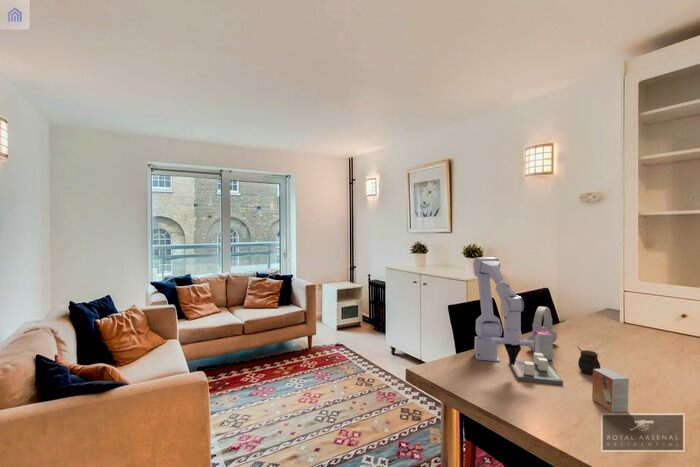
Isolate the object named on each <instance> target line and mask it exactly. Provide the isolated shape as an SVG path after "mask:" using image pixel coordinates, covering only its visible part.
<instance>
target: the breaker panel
mask: <svg viewBox="0 0 700 467" xmlns="http://www.w3.org/2000/svg"><path fill="white" fill-rule="evenodd" d="M524 361H526V360H517V359H516V361H515V365H511V364H510V361H509V360H508V364H509V366H510V368H511V369H512V370H511V371H512V372H513V374H514V376H515V377H516V378H515V379H516V380H517V381H518V382H526V383H528V382H529V383H538V384H548V385H557V386H558V385H560V386H563V385H564V380H563V379H562V378H561V377H560V376H559V374H558V373H557V372H556V371H555V369H554V368H553V367H552V365H551V364H550V363H549V362H548V371H540V370H539V369H538V368H537V365H535V364H534V361H532V362H533V364H534V375H525V373H524ZM526 362H530V361H526Z"/></svg>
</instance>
